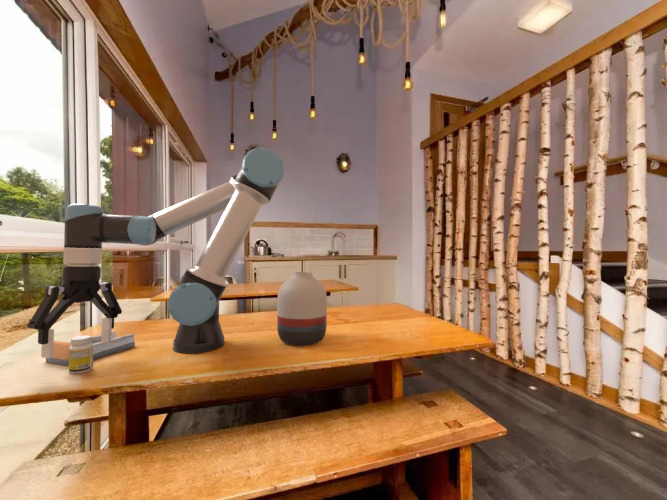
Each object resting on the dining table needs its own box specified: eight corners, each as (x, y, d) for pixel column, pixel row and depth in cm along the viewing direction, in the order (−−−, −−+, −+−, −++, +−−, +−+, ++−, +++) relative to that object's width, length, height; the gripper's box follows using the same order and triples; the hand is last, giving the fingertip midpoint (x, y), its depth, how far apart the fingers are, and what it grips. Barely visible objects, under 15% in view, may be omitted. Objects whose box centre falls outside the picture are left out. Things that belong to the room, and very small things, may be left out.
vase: (315, 351, 94) (316, 274, 94) (267, 345, 99) (268, 273, 100) (333, 336, 110) (333, 271, 110) (291, 332, 115) (291, 270, 116)
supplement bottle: (78, 367, 79) (78, 335, 79) (97, 366, 80) (97, 334, 80) (63, 374, 75) (64, 340, 75) (83, 374, 75) (84, 339, 75)
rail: (134, 346, 97) (134, 329, 97) (71, 366, 80) (71, 345, 80) (111, 343, 100) (111, 326, 100) (45, 362, 83) (46, 342, 83)
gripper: (118, 263, 90) (116, 335, 90) (8, 266, 67) (4, 363, 66) (138, 264, 88) (135, 338, 88) (31, 267, 64) (27, 367, 64)
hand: (79, 349), depth 77 cm, fingers open, 13 cm apart
